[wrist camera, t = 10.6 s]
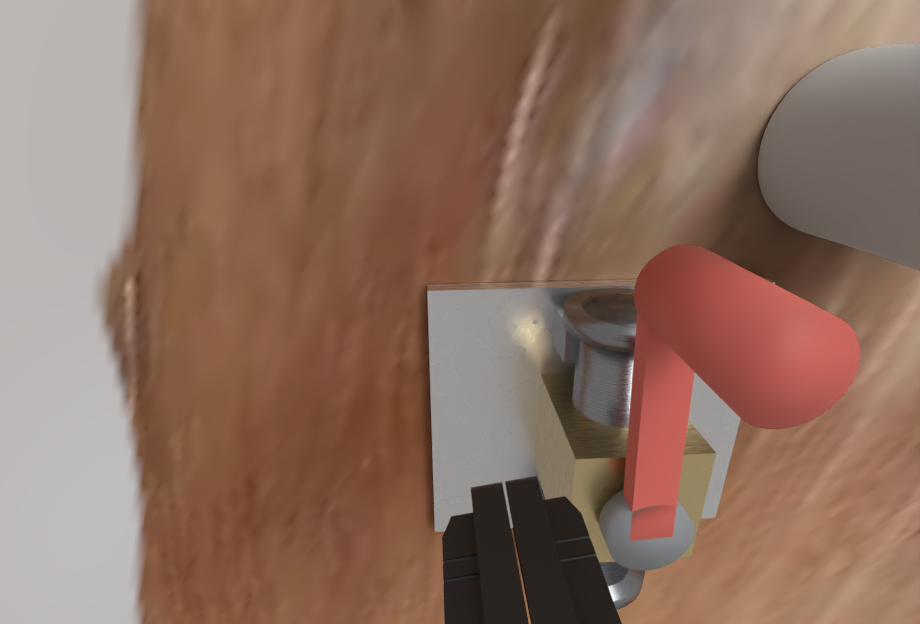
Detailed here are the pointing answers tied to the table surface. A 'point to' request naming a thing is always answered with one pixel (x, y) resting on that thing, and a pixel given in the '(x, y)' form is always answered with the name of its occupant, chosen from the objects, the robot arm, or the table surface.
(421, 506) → the table surface
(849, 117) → the mug
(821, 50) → the table surface
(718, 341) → the lever
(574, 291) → the valve body
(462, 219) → the table surface
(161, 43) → the table surface
